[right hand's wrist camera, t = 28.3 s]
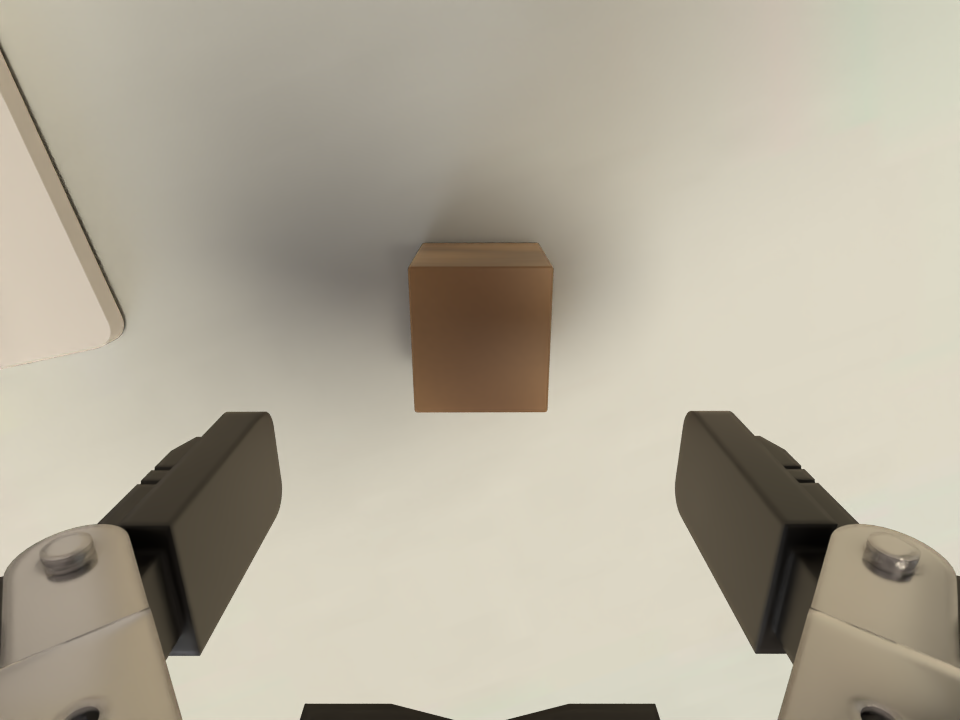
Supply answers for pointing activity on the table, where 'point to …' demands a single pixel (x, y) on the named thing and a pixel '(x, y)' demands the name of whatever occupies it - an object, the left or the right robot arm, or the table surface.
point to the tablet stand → (43, 252)
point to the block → (480, 327)
